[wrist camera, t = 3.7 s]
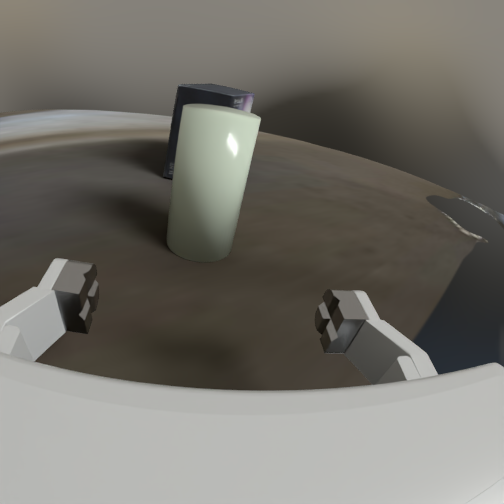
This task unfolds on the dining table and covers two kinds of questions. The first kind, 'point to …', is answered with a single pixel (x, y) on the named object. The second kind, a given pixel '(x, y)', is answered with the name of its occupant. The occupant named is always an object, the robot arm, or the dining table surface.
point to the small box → (201, 96)
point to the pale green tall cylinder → (209, 180)
